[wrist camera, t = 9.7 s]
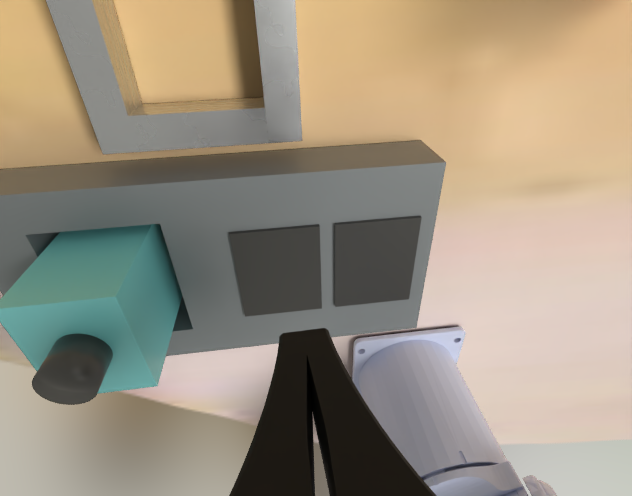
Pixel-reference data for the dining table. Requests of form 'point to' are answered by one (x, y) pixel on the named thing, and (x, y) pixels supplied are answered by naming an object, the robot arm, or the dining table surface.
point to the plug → (95, 312)
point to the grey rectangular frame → (178, 117)
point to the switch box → (253, 234)
